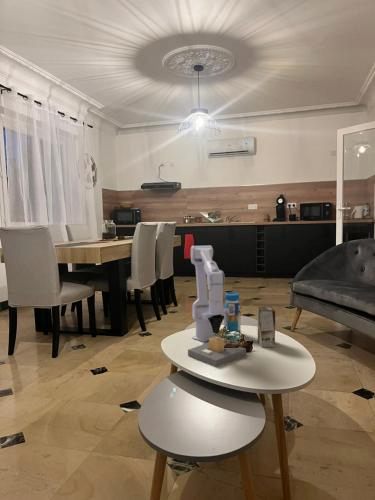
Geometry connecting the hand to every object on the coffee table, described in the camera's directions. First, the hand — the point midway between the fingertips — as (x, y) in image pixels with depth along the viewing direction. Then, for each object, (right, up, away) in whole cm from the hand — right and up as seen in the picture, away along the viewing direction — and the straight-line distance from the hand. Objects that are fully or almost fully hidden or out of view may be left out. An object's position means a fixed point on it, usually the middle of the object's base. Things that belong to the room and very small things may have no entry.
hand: (215, 332), depth 149 cm
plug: (0, -9, +1) cm, 9 cm away
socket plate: (0, -9, 0) cm, 9 cm away
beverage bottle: (+10, -7, +28) cm, 31 cm away
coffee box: (+24, -8, +13) cm, 28 cm away
